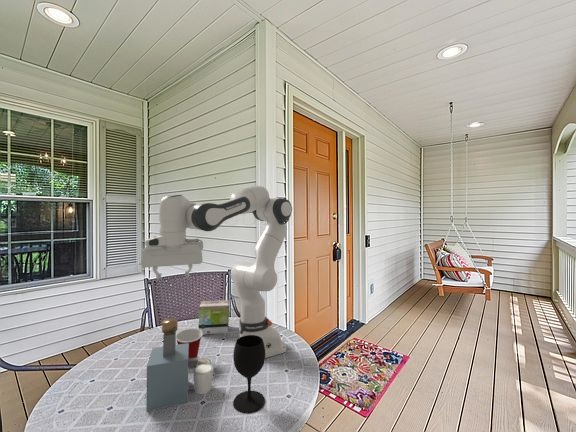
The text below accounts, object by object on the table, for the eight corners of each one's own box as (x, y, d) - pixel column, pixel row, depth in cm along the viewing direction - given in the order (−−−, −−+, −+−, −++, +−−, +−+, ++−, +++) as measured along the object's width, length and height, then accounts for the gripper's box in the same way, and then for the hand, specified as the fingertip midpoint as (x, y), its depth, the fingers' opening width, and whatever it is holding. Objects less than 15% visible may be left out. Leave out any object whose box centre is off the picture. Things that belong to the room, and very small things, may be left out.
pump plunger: (177, 348, 93) (177, 317, 93) (176, 355, 89) (177, 322, 89) (162, 350, 92) (162, 319, 92) (160, 357, 87) (161, 324, 87)
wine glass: (236, 417, 80) (237, 351, 81) (230, 396, 90) (230, 336, 90) (269, 407, 85) (269, 344, 85) (259, 388, 94) (260, 331, 94)
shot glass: (207, 396, 90) (207, 375, 90) (188, 393, 91) (189, 372, 91) (216, 383, 97) (216, 364, 97) (199, 381, 98) (199, 362, 98)
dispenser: (197, 379, 99) (197, 322, 99) (197, 400, 88) (197, 336, 88) (152, 387, 94) (152, 328, 94) (146, 411, 83) (146, 343, 83)
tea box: (198, 335, 135) (198, 306, 135) (200, 327, 145) (200, 300, 145) (228, 333, 138) (228, 305, 138) (228, 325, 148) (229, 299, 148)
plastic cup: (176, 373, 103) (176, 342, 103) (173, 359, 113) (174, 331, 113) (205, 366, 108) (205, 336, 108) (200, 353, 118) (200, 326, 118)
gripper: (202, 237, 103) (203, 273, 103) (142, 239, 96) (143, 278, 96) (203, 239, 97) (203, 277, 97) (139, 241, 90) (140, 282, 90)
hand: (173, 277), depth 96 cm, fingers open, 8 cm apart
